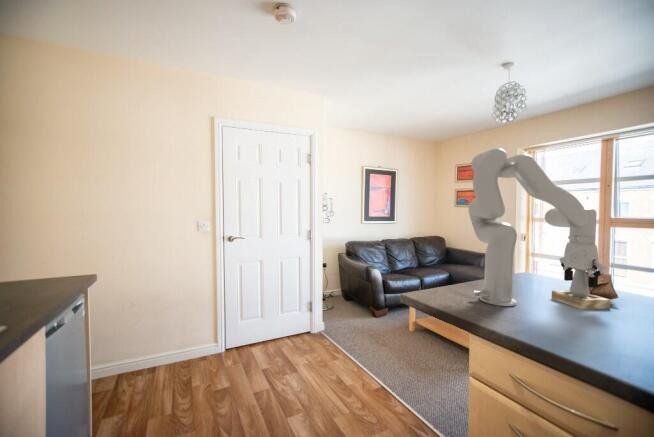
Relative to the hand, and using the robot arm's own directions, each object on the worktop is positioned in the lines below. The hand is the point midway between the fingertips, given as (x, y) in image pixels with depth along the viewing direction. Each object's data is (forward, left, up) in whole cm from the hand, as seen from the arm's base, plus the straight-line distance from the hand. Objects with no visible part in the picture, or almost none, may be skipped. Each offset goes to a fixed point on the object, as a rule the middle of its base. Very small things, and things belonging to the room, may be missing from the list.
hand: (580, 283), depth 109 cm
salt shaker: (0, 0, -5) cm, 5 cm away
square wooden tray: (0, 0, -8) cm, 8 cm away
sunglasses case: (+14, +4, -3) cm, 15 cm away
